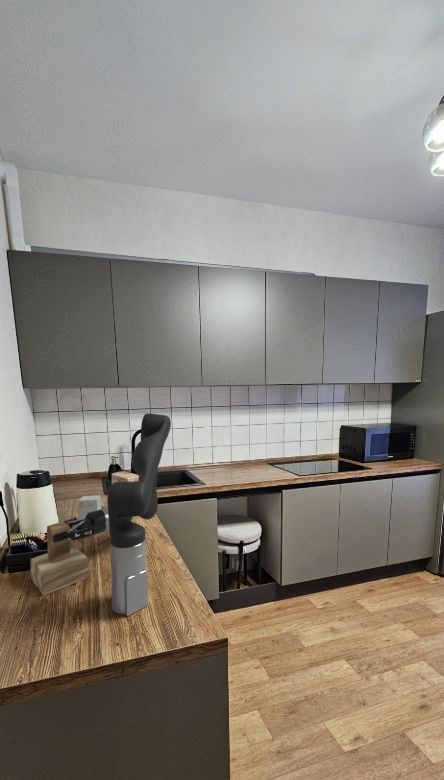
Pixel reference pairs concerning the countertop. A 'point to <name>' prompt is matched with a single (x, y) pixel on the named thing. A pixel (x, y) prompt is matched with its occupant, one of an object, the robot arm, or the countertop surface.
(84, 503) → the small box
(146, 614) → the countertop surface
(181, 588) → the countertop surface
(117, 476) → the coffeecake box
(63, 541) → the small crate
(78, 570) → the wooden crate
